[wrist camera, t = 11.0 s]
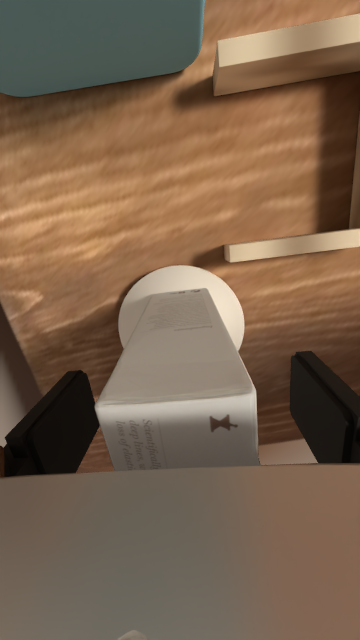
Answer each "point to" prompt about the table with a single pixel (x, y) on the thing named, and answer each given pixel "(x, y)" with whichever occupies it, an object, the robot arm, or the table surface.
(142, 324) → the skincare box
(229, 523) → the robot arm
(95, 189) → the table surface
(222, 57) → the stand
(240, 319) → the ceramic coaster
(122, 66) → the data package
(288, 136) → the table surface
